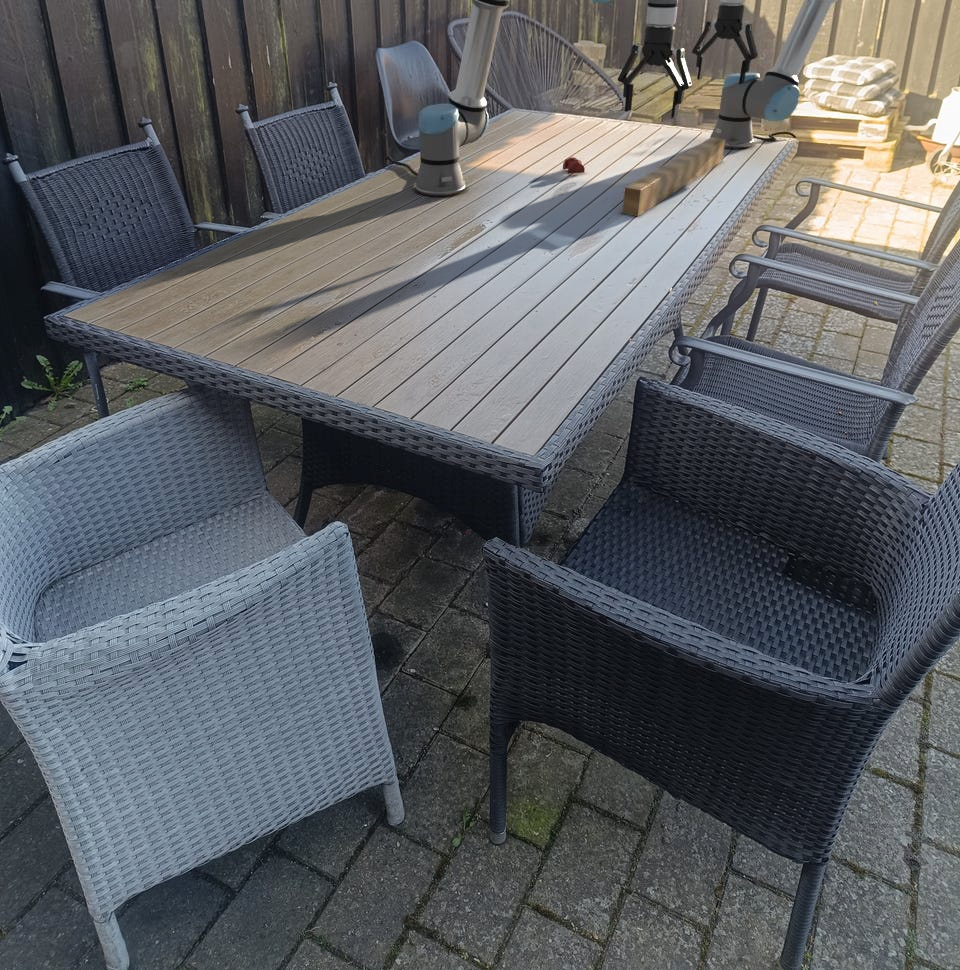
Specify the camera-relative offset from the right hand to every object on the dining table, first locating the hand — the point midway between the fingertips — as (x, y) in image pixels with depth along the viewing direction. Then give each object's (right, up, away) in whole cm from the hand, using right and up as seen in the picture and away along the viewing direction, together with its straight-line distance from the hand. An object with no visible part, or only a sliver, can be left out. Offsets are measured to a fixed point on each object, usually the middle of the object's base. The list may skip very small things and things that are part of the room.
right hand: (720, 81), depth 266 cm
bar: (-15, -34, -4) cm, 37 cm away
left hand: (-30, -27, -37) cm, 54 cm away
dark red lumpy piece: (-45, -25, +9) cm, 53 cm away
